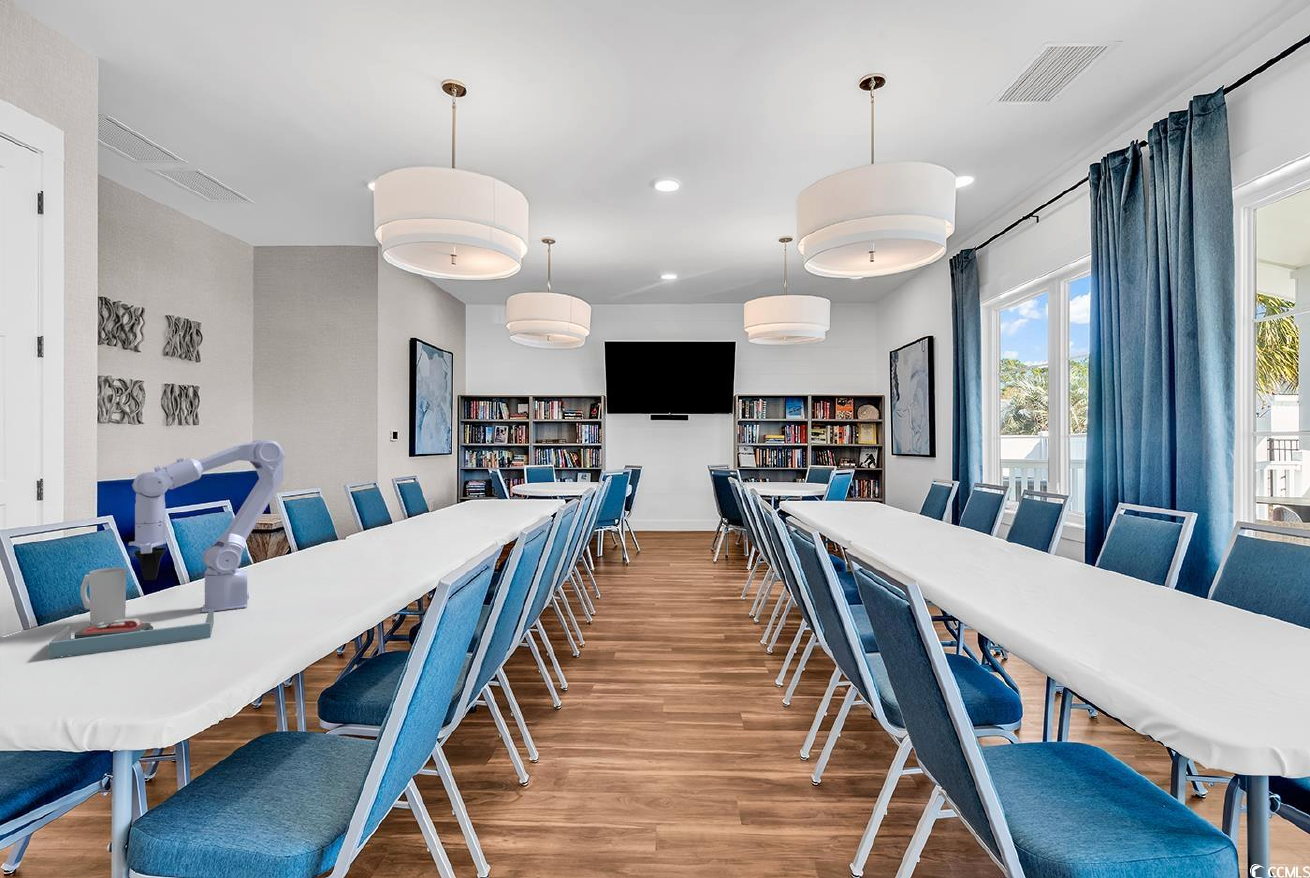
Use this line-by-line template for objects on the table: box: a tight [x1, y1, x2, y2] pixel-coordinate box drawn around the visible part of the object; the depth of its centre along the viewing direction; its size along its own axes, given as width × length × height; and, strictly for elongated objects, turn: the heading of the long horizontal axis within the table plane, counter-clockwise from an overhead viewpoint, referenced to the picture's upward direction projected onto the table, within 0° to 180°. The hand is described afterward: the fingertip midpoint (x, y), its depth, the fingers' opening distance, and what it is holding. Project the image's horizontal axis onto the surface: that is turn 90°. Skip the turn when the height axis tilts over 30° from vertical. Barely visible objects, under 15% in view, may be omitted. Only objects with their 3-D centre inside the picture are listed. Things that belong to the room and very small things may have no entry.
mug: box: [80, 567, 127, 626], centre depth 153 cm, size 10×7×12 cm, turn 86°
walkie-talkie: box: [69, 617, 154, 640], centre depth 139 cm, size 9×4×20 cm
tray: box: [48, 611, 215, 659], centre depth 139 cm, size 26×12×3 cm, turn 122°
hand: (150, 579), depth 155 cm, fingers closed
